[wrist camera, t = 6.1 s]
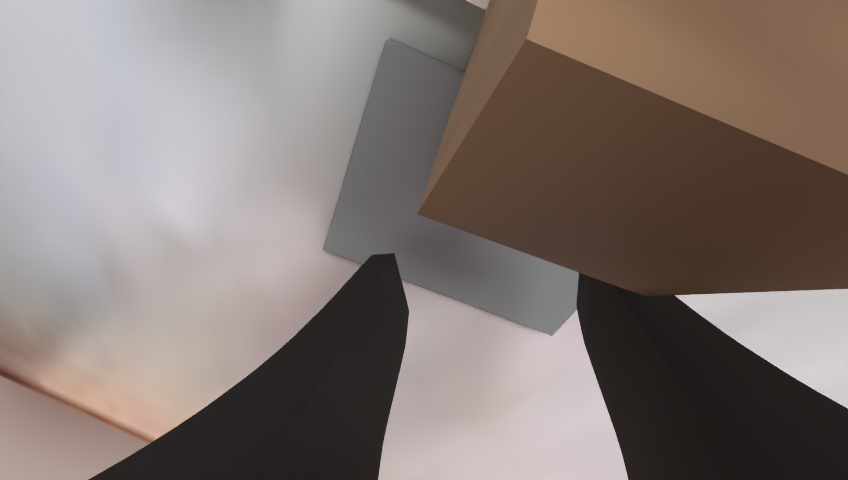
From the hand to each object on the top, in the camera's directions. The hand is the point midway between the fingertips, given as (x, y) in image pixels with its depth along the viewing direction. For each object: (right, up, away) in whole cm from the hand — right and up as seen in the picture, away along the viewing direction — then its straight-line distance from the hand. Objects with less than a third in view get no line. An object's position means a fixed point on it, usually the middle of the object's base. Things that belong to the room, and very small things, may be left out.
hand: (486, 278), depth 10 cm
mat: (0, +2, +3) cm, 3 cm away
